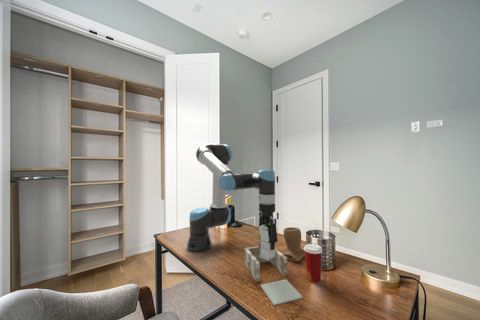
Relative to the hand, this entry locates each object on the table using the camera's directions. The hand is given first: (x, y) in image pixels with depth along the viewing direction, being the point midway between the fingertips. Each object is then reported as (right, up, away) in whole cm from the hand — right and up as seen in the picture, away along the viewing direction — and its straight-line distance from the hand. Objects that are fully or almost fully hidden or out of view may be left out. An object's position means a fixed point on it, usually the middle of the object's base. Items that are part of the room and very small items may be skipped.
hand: (267, 252), depth 91 cm
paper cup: (+20, -10, -5) cm, 22 cm away
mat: (+3, -9, -13) cm, 17 cm away
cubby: (-1, -10, +4) cm, 11 cm away
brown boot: (+17, -10, +17) cm, 26 cm away
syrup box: (0, -2, 0) cm, 2 cm away
